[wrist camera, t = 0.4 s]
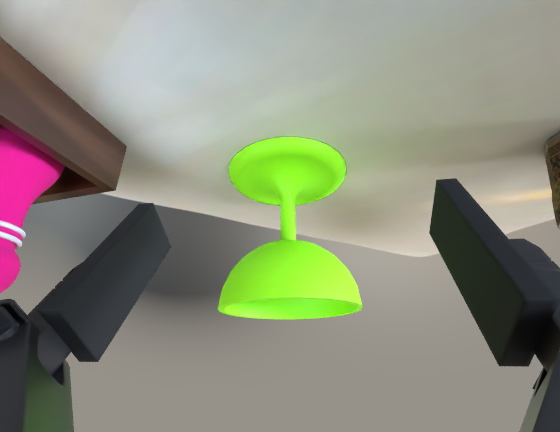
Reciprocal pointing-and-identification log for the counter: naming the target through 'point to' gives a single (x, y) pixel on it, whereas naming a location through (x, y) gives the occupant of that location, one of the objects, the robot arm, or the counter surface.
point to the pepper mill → (19, 194)
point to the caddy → (57, 129)
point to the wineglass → (288, 236)
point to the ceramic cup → (554, 172)
